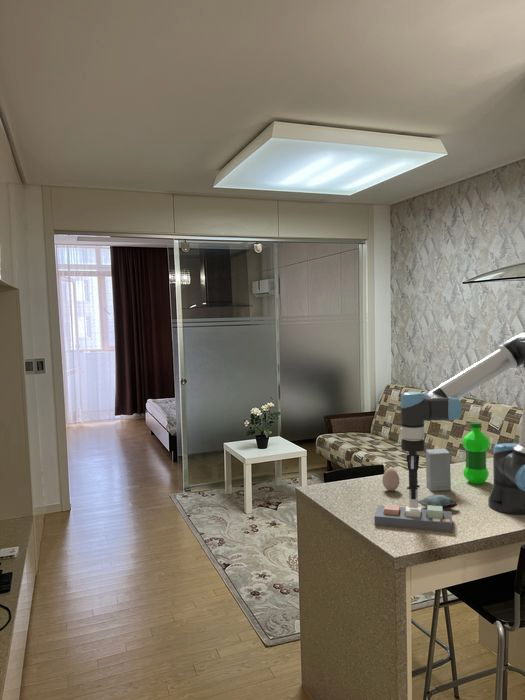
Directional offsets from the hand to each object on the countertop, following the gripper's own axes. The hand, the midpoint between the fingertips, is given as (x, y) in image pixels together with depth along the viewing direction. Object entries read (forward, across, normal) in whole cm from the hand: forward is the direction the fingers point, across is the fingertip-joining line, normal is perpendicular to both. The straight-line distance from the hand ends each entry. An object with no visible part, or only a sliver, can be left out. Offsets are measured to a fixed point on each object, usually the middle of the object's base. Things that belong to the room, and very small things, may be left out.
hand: (413, 507), depth 179 cm
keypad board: (+5, 0, 0) cm, 5 cm away
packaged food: (+6, -16, +7) cm, 18 cm away
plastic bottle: (+6, -52, +23) cm, 57 cm away
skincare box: (+6, -39, +8) cm, 40 cm away
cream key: (+5, 0, 0) cm, 5 cm away
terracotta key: (+5, 0, -7) cm, 8 cm away
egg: (+5, -32, -10) cm, 34 cm away
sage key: (+4, 0, +7) cm, 8 cm away
